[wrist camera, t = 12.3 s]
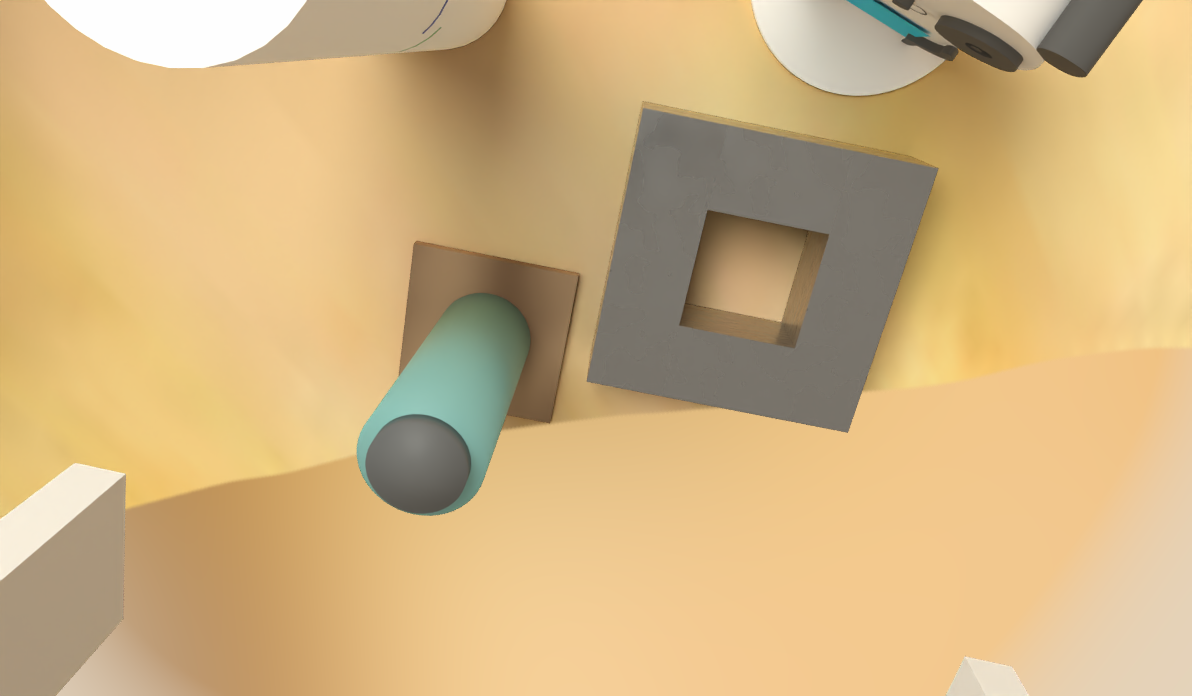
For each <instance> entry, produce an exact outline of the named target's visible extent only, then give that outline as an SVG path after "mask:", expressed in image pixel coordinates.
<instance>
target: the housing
mask: <svg viewBox="0 0 1192 696" xmlns="http://www.w3.org/2000/svg"><path fill="white" fill-rule="evenodd" d="M937 171H938V168H936V167H934V166H932V165H929V164H927V163H925V162H923V161H920V160H918V159H916V158H913V157H911V156H906V155H901V154H897V153H892V152H887V151H882V150H877V149H872V148H867V147H863V146H858V145H853V144H848V143H843V142H838V141H833V140H829V139H824V138H819V137H814V136H809V135H804V134H799V133H794V132H790V131H785V130H780V129H775V128H770V127H765V126H760V125H756V124H751V123H746V122H741V121H736V120H731V119H726V118H722V117H717V116H712V115H707V114H702V113H697V112H692V111H687V110H683V109H678V108H673V107H668V106H663V105H658V104H653V103H649V102H644V101H642V106H641V111H640V116H639V121H638V126H637V131H636V135H635V140H634V145H633V150H632V155H631V160H630V165H629V169H628V174H627V179H626V184H625V189H624V194H623V199H622V203H621V208H620V213H619V218H618V223H617V228H616V233H615V237H614V242H613V247H612V252H611V257H610V262H609V267H608V271H607V276H606V281H605V286H604V291H603V296H602V301H601V305H600V310H599V315H598V320H597V325H596V330H595V335H594V339H593V344H592V349H591V354H590V362H589V369H588V376H587V382H591V383H597V384H602V385H607V386H612V387H617V388H622V389H627V390H632V391H637V392H643V393H648V394H653V395H658V396H663V397H668V398H673V399H678V400H684V401H689V402H694V403H699V404H704V405H709V406H714V407H719V408H724V409H730V410H735V411H740V412H745V413H750V414H755V415H760V416H765V417H771V418H776V419H781V420H786V421H791V422H796V423H801V424H806V425H811V426H816V427H822V428H827V429H832V430H837V431H842V432H847V433H848V431H849V428H850V425H851V422H852V419H853V416H854V413H855V410H856V407H857V404H858V401H859V399H860V395H861V393H862V390H863V387H864V384H865V381H866V378H867V375H868V372H869V369H870V367H871V364H872V361H873V358H874V355H875V352H876V349H877V346H878V343H879V340H880V337H881V334H882V332H883V329H884V326H885V323H886V320H887V317H888V314H889V311H890V308H891V305H892V302H893V299H894V297H895V294H896V291H897V288H898V285H899V282H900V279H901V276H902V273H903V270H904V267H905V264H906V262H907V259H908V256H909V253H910V250H911V247H912V244H913V241H914V238H915V235H916V232H917V230H918V227H919V224H920V221H921V218H922V215H923V212H924V209H925V206H926V203H927V200H928V197H929V195H930V192H931V189H932V186H933V183H934V180H935V177H936V174H937ZM707 210H711V211H716V212H721V213H726V214H731V215H736V216H741V217H746V218H750V219H755V220H760V221H765V222H770V223H775V224H780V225H785V226H790V227H795V228H800V229H805V230H809V231H808V234H807V238H806V241H805V245H804V248H803V251H802V255H801V258H800V262H799V265H798V268H797V272H796V275H795V279H794V282H793V285H792V289H791V292H790V296H789V299H788V303H787V306H786V309H785V313H784V316H783V320H782V323H781V322H776V321H771V320H766V319H761V318H756V317H751V316H746V315H741V314H736V313H731V312H726V311H721V310H716V309H711V308H706V307H701V306H696V305H691V304H686V303H685V300H686V296H687V292H688V287H689V283H690V279H691V275H692V271H693V267H694V263H695V259H696V255H697V251H698V247H699V243H700V238H701V234H702V230H703V226H704V222H705V218H706V214H707Z"/></svg>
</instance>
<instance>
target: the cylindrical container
mask: <svg viewBox="0 0 1192 696" xmlns="http://www.w3.org/2000/svg"><path fill="white" fill-rule="evenodd" d="M45 1H46V2H47V3H48V4H49V6H50V7H51V8H53V9H54V10H55V11H56V12H57V13H58V14H59V15H61V16H62V17H63V18H64V19H65V20H66V21H68V22H69V23H70V24H71V25H72V26H73V27H74V28H76V29H77V30H78V31H80V32H82V33H83V34H85V35H86V36H88V37H89V38H91V39H93V40H94V41H96V42H97V43H99V44H101V45H102V46H104V47H105V48H108V49H110V50H112V51H115V52H117V53H119V54H122V55H124V56H127V57H129V58H131V59H134V60H136V61H140V62H145V63H150V64H154V65H159V66H164V67H169V68H208V67H221V66H234V65H247V64H260V63H274V62H287V61H300V60H313V59H327V58H340V57H353V56H366V55H379V54H393V53H406V52H419V51H432V50H445V49H453V48H457V47H461V46H465V45H467V44H469V43H471V42H473V41H475V40H477V39H478V38H480V37H481V36H482V35H483V34H485V33H486V32H487V31H488V30H489V29H490V28H491V27H492V26H493V24H494V23H495V22H496V21H497V19H498V18H499V16H500V14H501V12H502V11H503V9H504V6H505V3H506V0H45Z"/></svg>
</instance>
